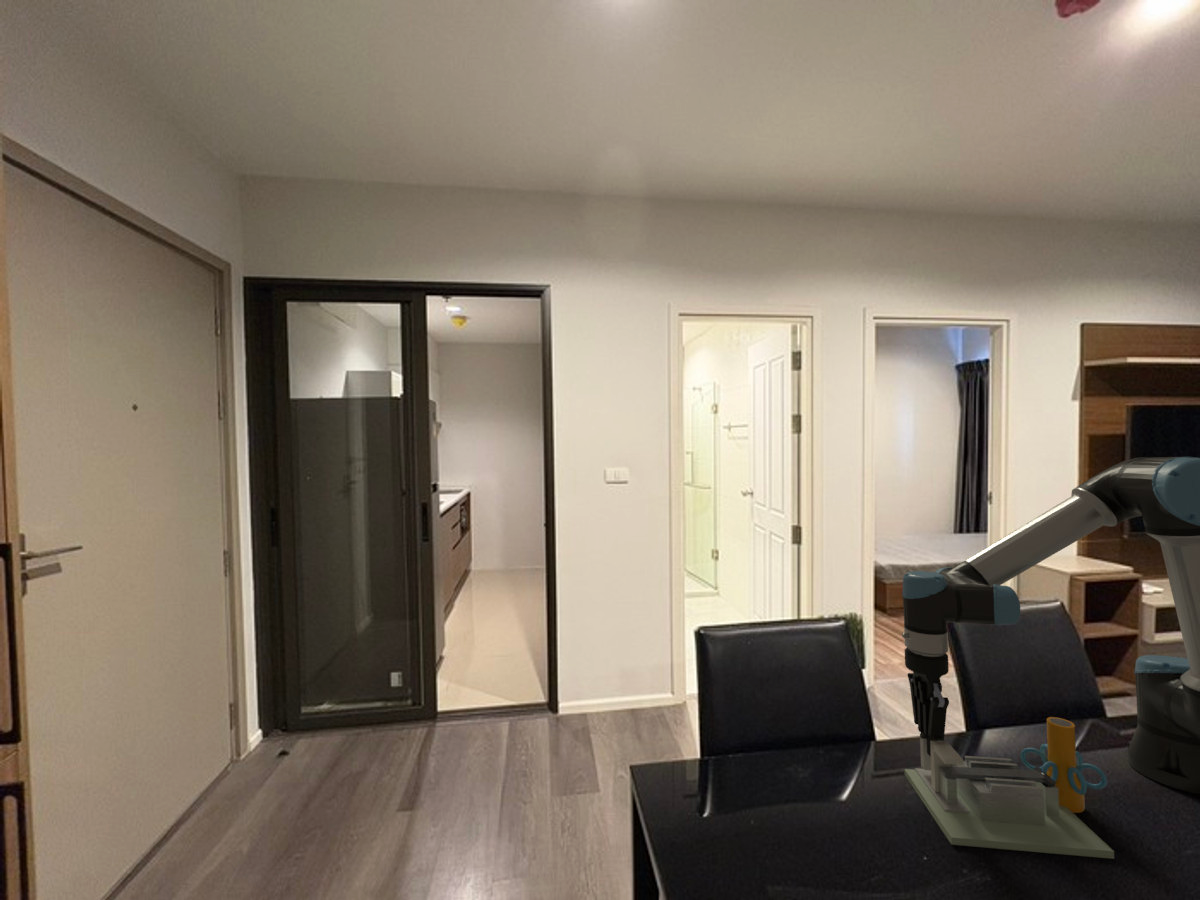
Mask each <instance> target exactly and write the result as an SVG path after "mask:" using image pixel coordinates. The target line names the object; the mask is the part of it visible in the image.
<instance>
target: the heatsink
mask: <svg viewBox="0 0 1200 900" xmlns="http://www.w3.org/2000/svg"><path fill="white" fill-rule="evenodd" d="M952 767H970V768H993V769H1017V770H1019V765H1018V764H1017V763H1014V762H1013V759H1011V758H1005V757H1002V758H1001V757H992V756H991V757H989V756H988V757H987V756H975V755H974V756H972V755H971V756H970V755H964V760H963V765H957V764H952ZM984 779H985V780H977V779H955V778H945V777H944V776H943V775H942V773H941V772H940V795H941V796H942V797H943V799H944V800H945V801H946V803H947V804H948V805H957V791H958V793H959V794H960V795H961V796H962V798H963V799H964V800H965V802H966V803H967V804H968V805H969V807H970V808H971V809H972V810H973V812H974V813H975V814H976V815H977V817H978V818H979V819H980V820H981V821H986V822H999V823H1011V824H1023V825H1036V826H1045V815H1046V816H1057V817H1059V795H1058V788H1057V787H1056V786H1053V787H1051V786H1049V785H1048V784H1047V783H1043V782H1035V781H1027V780H1012V779H997V778H984Z"/></svg>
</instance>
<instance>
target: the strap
mask: <svg viewBox="0 0 1200 900" xmlns="http://www.w3.org/2000/svg"><path fill="white" fill-rule="evenodd" d="M1034 767H1035V768H1034V770H1031V769H1018V770H1017V769H993V768H970V767H953V766H952V767H946V766H939V771H940V772H941V773H942V775H943V776H944V777H945V778H955V779H977V780H985V779H984V778H997V779H1012V780H1027V781H1035V782H1043V783H1047V784H1048V785H1049V786H1051V787H1053V786H1055V784H1056V783H1055V781H1054V780H1053V779H1052V778H1050V777H1049V776H1048V775H1047V774H1046V773H1045V772H1043V771H1042V770H1041V769H1040V768H1039V767H1040V766H1034Z"/></svg>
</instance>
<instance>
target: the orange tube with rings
mask: <svg viewBox="0 0 1200 900" xmlns="http://www.w3.org/2000/svg"><path fill="white" fill-rule="evenodd" d="M1046 739H1047V741H1046V742H1047V743H1043V744H1041V745H1040V748H1039V749H1038V748H1035V747H1026V748H1023V749H1022V750H1021V751H1020V759H1021V762H1022V763H1023V764H1024V766H1026V767H1027V769H1028V770H1034V768H1035V767H1036V766H1034V765H1032V764H1031V763H1029V762H1028V760H1027V757H1026V756H1027V755H1028V754H1029V753H1034V754H1037V755H1038V756H1040V757H1041V760H1042V761H1043V762H1042V763H1043V764H1042V765H1041V766H1038V767H1039V768H1040V769H1041V770H1042V771H1043V772H1045V773H1046V774H1047V775H1048V776H1049V777H1050V778H1052V779H1053V780H1054V781H1055V783H1056V784H1055V786H1056V787H1057V788H1058V795H1059V805H1061V806H1064V807H1067V808H1068V809H1069V810H1070V811H1071V812H1072V813H1073V814H1081V813H1084V811H1085V809H1086V808H1085V807H1086V806H1085V801H1086V800H1085V794H1086V793H1087V790H1088V788H1089V789H1093V790H1101V789H1104V788H1105V787H1106V786H1107V785H1108V777H1107V776H1106V773H1105V772H1103V770H1102V769H1101V768H1100V767H1098V766H1096V765H1094V764H1092V763H1086V762H1085V763H1084V758H1083V755H1082V754H1081V753H1080V752H1079V751H1077V749H1076V748H1077V747H1076V746H1077V745H1076V724H1074V723H1073V722H1072V721H1070V720H1067V719H1065V718H1061V717H1054V716H1049V717H1047V718H1046ZM1046 751H1047V755H1046ZM1085 769H1090V770H1093V771H1095V772H1096V773H1098V775H1099V776H1100V778H1101V779H1100V782H1099V783H1096V784H1095V783H1090V782H1088V781H1087V780H1086V778H1085V776H1084V775H1083V773H1082V771H1083V770H1085Z"/></svg>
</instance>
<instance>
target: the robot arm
mask: <svg viewBox="0 0 1200 900" xmlns="http://www.w3.org/2000/svg"><path fill="white" fill-rule="evenodd" d="M1137 517H1142V521H1143V525H1144V530H1145V533H1146V535H1147V536H1149V537H1151V538H1152V539H1155V540H1156V541H1158V542H1159V545H1160V548H1161V552H1162V557H1163V560H1164V565H1165V569H1166V574H1167V578H1168V583H1169V586H1170V591H1171V595H1172V599H1173V604H1174V607H1175V611H1176V615H1177V620H1178V624H1179V629H1180V632H1181V637H1182V640H1183V646H1184V650H1185V653H1186V658H1185V657H1180V656H1171V655H1156V654H1155V655H1154V654H1149V655H1141V656H1139V657H1138V658H1137V659H1136V660H1135V667H1134V671H1133V672H1134V675H1135V696H1136V697H1135V698H1136V715H1137V716H1136V718H1137V724H1136V725H1137V726H1136V728H1135V730H1134V733H1133V736H1132V738H1131V740H1130V743H1129V745H1128V746H1127V747H1126V756H1127V757H1126V759H1127V763H1128V764H1129V766H1130V767H1131V768H1132V769H1134V770H1135V771H1136V772H1139V774H1142V775H1143V776H1144V777H1147V778H1149V779H1151V780H1152V781H1155V782H1158V783H1160V784H1162V785H1165V786H1166V787H1167V786H1168V787H1170V788H1173V789H1176V790H1179V791H1183V792H1186V793H1191V794H1195V795H1200V457H1193V456H1168V457H1167V456H1166V457H1165V456H1164V457H1154V456H1143V457H1141V456H1140V457H1135V458H1131V459H1126V460H1123V461H1121V462H1119V463H1116V464H1114V465H1112V466H1110V467H1109V468H1107V469H1105V470H1103V471H1100V472H1099V473H1097V474H1096V475H1094V476H1092V477H1090V478H1089V479H1087V480H1086V481H1084V482H1082V483H1081V484H1079V485H1077V486H1076V487H1074V488H1073V489H1071V496H1070V497H1068V498H1066V499H1065V500H1063V501H1061V502H1060V503H1058V504H1056V505H1055V506H1053V507H1052V508H1050V509H1049V510H1047V511H1045V512H1044V513H1042V514H1040V515H1038V516H1037V517H1035V518H1033V519H1032V520H1030V521H1028V522H1027V523H1025V524H1024V525H1022V526H1020V527H1018V528H1017V529H1015V530H1014V531H1012V532H1010V533H1008V534H1007V535H1005V536H1003V537H1002V538H1001V539H999V540H997V541H996V542H994V543H992V544H990V545H988V546H987V547H986V548H984V549H983V550H980V551H979V552H977V553H976V554H974V555H972V556H971V557H970V558H968V559H965V560H964V561H962V562H961V563H958V564H957V565H955V566H954V567H950V566H949V567H947V566H946V567H945V566H944V567H941V568H939V569H936V570H935V572H934V571H925V570H912V571H908V572H906V573H905V574H904V575H903V577H902V593H901V596H902V606H903V608H902V609H903V621H904V622H903V632H902V633H901V636H902V638H904V640H903V641H904V647H906V648H905V649H904V665H905V668H907V670H909V671H910V672H908V673H907V679H908V683H909V687H910V688H909V689H910V696H911V697H910V698H911V704H912V713H913V714H912V715H913V722H914V724H915V725H917V730H918V733H919V744H920V745H919V747H920V767H921V769H924V770H931V749H930V741H941V742H945V741H944V740H945V732H946V722H947V721H946V720H947V713H948V711H947V710H948V707H949V704H950V700H949V698H948V697H945V696H943V694H942V692H943V685H942V683H941V682H942V681H941V677H943V676H946V675H947V674H948V673H949V670H950V669H949V656H948V654H947V653H948V652H949V633H948V631H949V630H948V623H954V624H955V623H959V624H973V625H974V624H977V625H989V626H990V625H991V626H995V627H997V626H1010V625H1011V626H1012V625H1016V624H1017V623H1018V622H1019V620H1020V618H1021V602H1020V599H1019V597H1018V594H1017V592H1016V591H1015V590H1014V588H1012V587H1011V586H1008V585H1003V584H1005V583H1007V582H1008V581H1010V580H1011V579H1013V578H1015V577H1018V576H1019V575H1021V574H1022V573H1024V572H1026V571H1027V570H1029V569H1031V568H1033V567H1034V566H1036V565H1038V564H1040V563H1041V562H1043V561H1045V560H1047V559H1049V557H1052V556H1054V555H1055V554H1057V553H1058V552H1060V551H1062V550H1063V549H1065V548H1067V547H1069V546H1070V545H1073V544H1074V543H1076V542H1077V541H1080V540H1081V539H1083V538H1084V537H1086V536H1088V535H1090V534H1092V533H1093V532H1095V531H1096V530H1098V529H1099V528H1102V527H1115V526H1117V525H1119V524H1120V523H1122V522H1124V521H1126V520H1129V519H1133V518H1137Z"/></svg>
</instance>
